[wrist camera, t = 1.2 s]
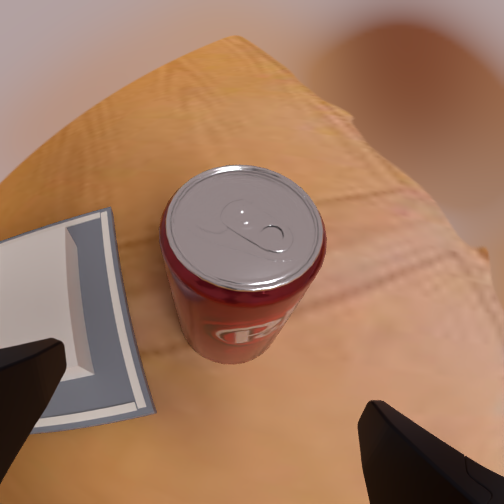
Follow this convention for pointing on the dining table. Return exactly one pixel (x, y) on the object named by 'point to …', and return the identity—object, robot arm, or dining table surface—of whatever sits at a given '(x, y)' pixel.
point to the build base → (98, 335)
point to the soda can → (239, 258)
